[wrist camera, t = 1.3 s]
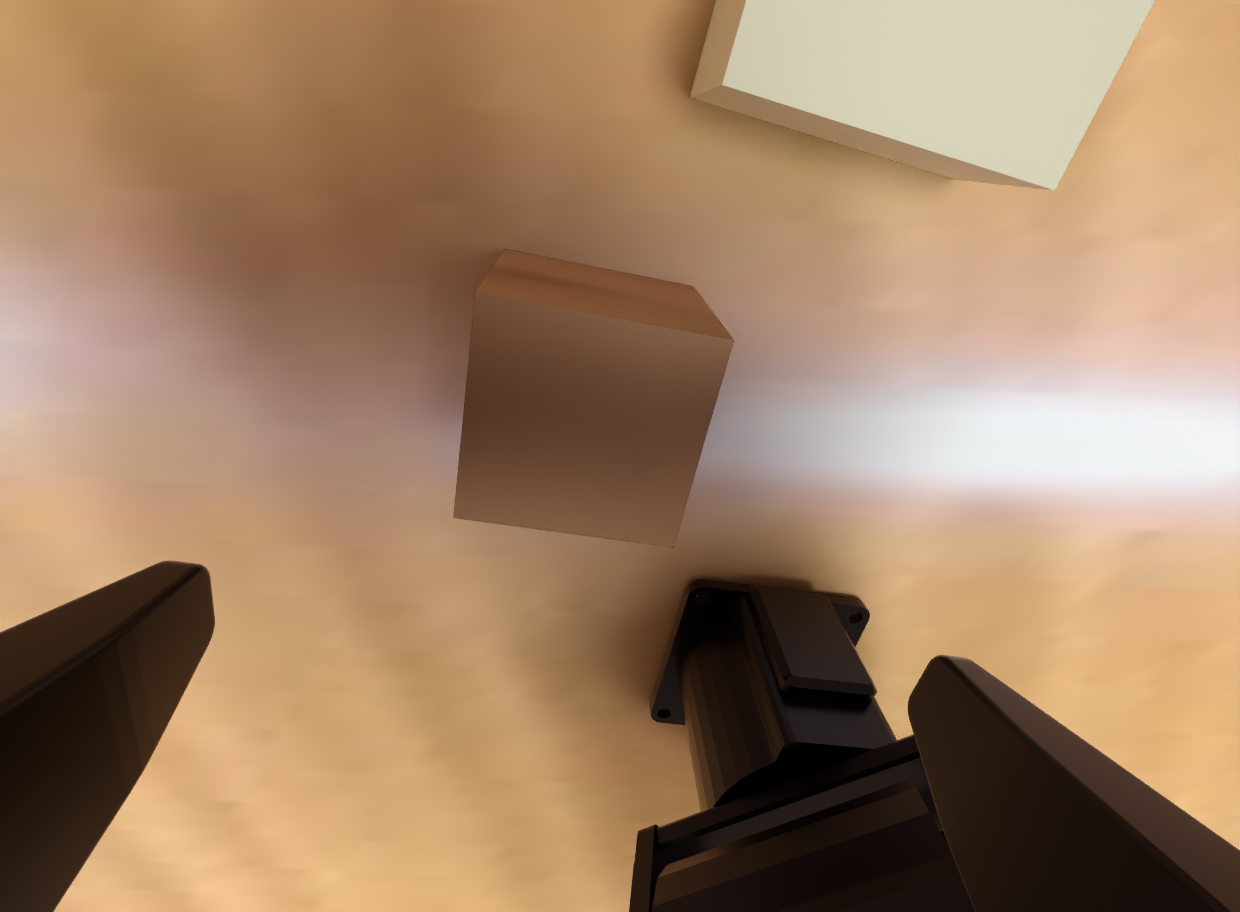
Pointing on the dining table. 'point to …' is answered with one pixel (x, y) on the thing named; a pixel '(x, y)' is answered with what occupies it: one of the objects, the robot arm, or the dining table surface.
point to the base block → (925, 77)
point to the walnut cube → (586, 399)
